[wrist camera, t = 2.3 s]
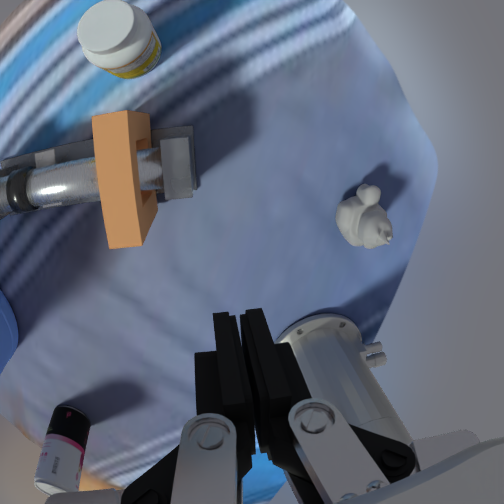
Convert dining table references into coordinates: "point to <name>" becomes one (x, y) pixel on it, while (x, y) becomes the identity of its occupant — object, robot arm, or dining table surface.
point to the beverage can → (63, 452)
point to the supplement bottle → (119, 39)
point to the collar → (123, 176)
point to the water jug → (7, 332)
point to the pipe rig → (94, 173)
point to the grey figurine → (364, 219)
